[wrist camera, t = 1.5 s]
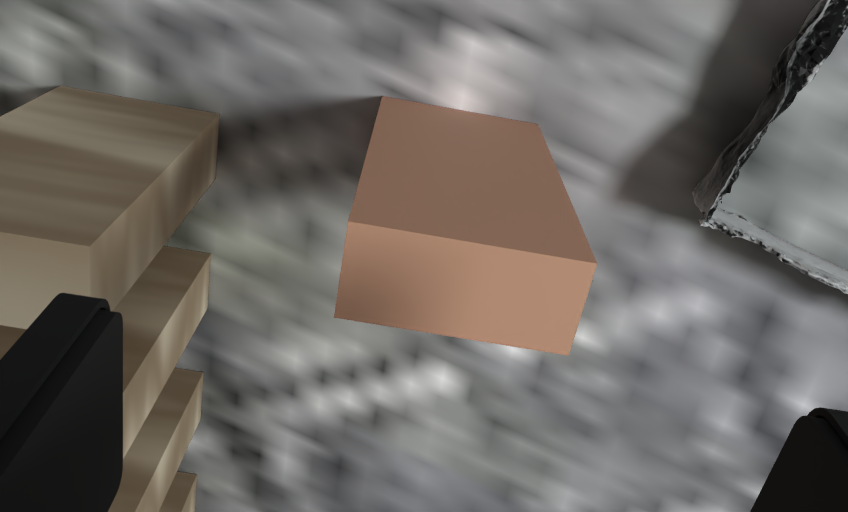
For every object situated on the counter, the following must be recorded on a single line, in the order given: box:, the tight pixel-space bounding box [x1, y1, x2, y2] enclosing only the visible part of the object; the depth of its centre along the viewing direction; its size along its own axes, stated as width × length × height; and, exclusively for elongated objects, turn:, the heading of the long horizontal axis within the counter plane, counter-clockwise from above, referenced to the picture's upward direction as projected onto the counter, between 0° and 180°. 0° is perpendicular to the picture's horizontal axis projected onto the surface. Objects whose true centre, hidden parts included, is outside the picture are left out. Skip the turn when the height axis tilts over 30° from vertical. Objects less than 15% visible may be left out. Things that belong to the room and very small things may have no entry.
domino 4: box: [334, 96, 597, 355], centre depth 20 cm, size 2×5×10 cm, turn 80°
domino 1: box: [0, 86, 220, 329], centre depth 20 cm, size 2×5×10 cm, turn 80°
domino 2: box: [0, 246, 211, 459], centre depth 22 cm, size 2×5×10 cm, turn 80°
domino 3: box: [108, 368, 203, 512], centre depth 24 cm, size 2×5×10 cm, turn 80°
